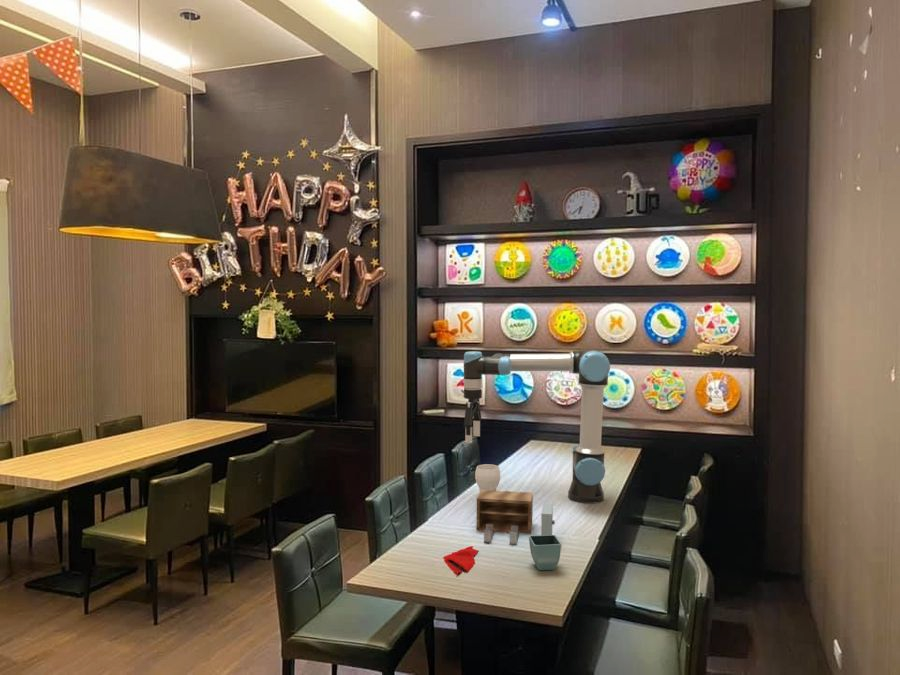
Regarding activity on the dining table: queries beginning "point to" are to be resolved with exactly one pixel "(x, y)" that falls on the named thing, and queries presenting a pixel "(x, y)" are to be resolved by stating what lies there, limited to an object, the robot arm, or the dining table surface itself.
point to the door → (547, 518)
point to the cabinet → (505, 510)
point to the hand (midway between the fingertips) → (472, 439)
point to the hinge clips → (490, 532)
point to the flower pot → (545, 551)
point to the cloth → (461, 560)
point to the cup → (487, 477)
